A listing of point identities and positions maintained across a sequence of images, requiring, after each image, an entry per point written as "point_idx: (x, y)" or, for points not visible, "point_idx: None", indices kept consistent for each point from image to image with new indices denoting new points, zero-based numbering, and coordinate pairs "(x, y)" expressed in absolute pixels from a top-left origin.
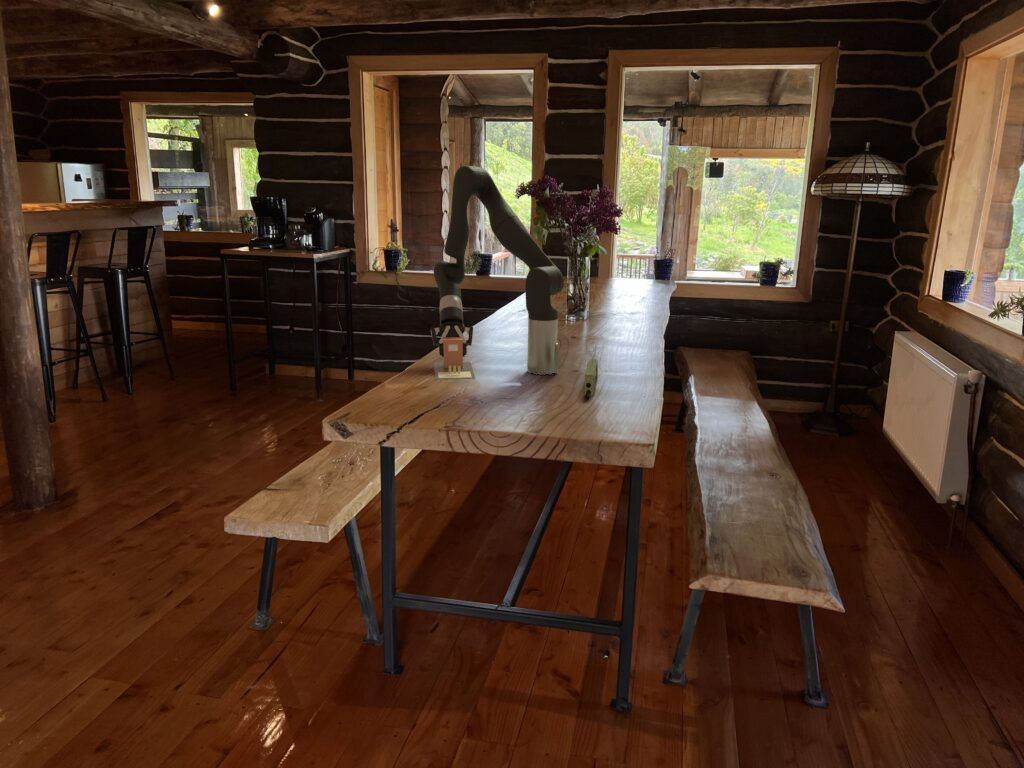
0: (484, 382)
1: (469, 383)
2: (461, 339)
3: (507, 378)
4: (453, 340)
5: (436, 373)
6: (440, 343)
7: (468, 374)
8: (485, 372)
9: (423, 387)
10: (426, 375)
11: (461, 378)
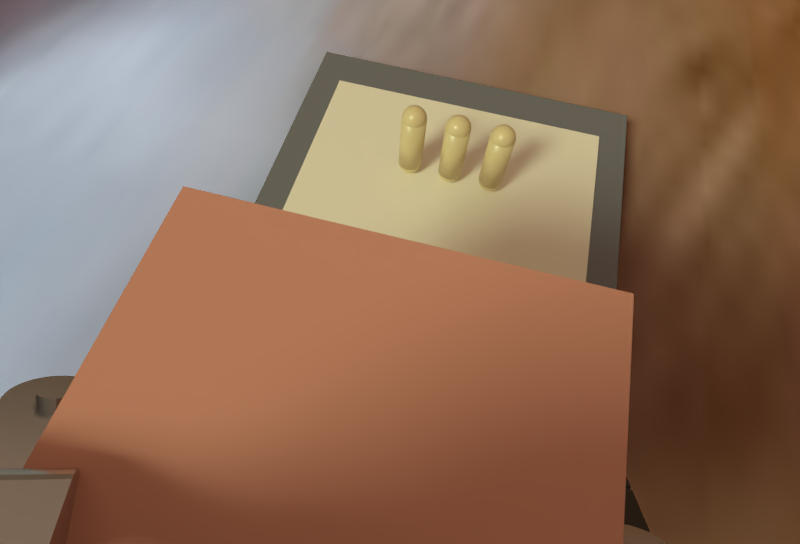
0: (272, 50)
1: (381, 59)
2: (185, 231)
3: (56, 81)
4: (391, 243)
5: (600, 272)
6: (646, 532)
7: (331, 150)
8: (94, 288)
9: (703, 71)
10: (681, 359)
11: (424, 84)
